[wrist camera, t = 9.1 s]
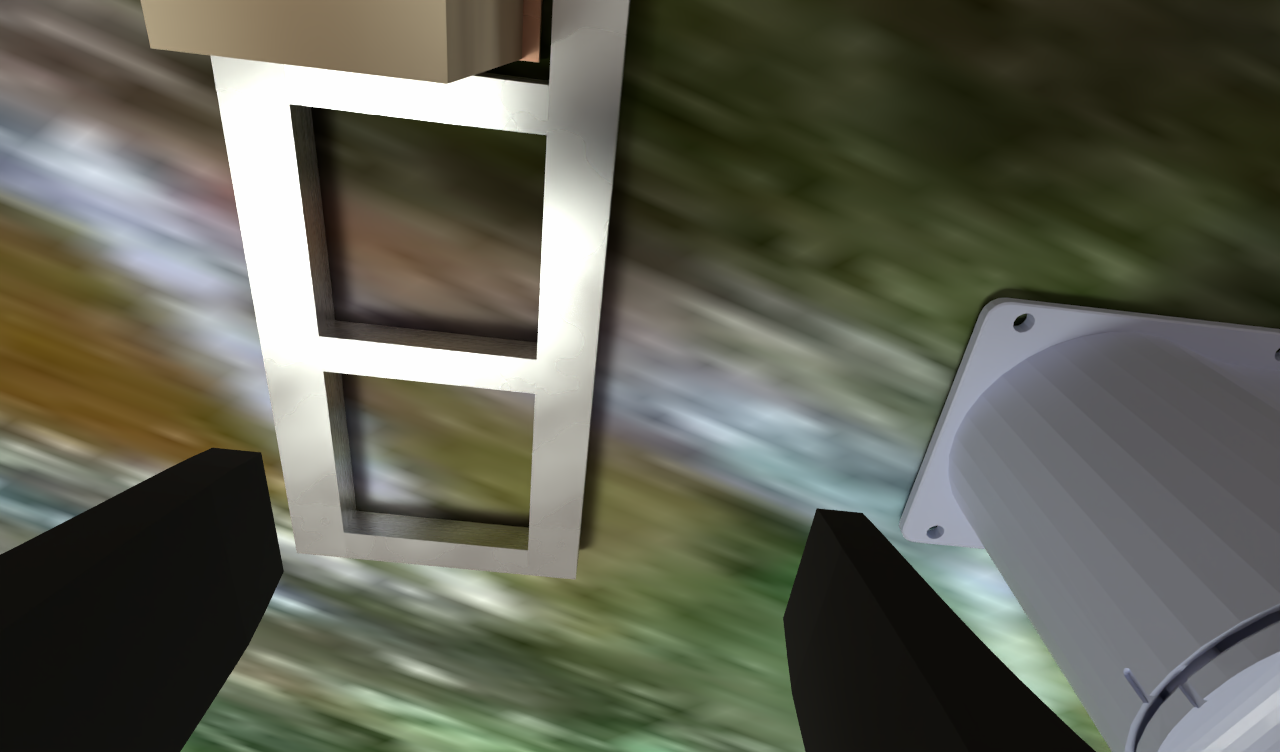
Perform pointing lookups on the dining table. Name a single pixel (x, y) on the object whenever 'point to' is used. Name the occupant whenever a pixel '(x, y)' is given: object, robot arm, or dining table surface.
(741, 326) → the dining table surface
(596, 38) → the white rectangular slotted frame
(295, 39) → the block
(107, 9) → the dining table surface
